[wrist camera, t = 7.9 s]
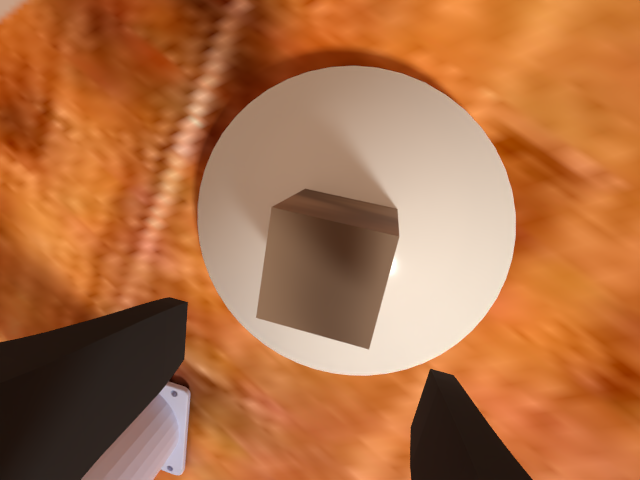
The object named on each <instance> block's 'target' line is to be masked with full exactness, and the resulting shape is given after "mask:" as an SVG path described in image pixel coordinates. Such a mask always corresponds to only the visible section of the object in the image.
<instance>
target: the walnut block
mask: <svg viewBox="0 0 640 480" xmlns="http://www.w3.org/2000/svg"><path fill="white" fill-rule="evenodd" d="M398 240H399V223H398V209H396V208H391V207H387V206H382V205H378V204H373V203H369V202H364V201H359V200H355V199H350V198H346V197H341V196H337V195H332V194H328V193H323V192H318V191H314V190H309V189H304V190H302V191H300V192H298V193H296V194H295V195H293V196H291V197H289V198H287V199H285V200H284V201H282V202H280V203H278V204H276V205H274V206H273V207H271V214H270V221H269V229H268V236H267V243H266V250H265V257H264V264H263V271H262V279H261V286H260V293H259V300H258V307H257V314H256V318H258V319H262V320H265V321H269V322H273V323H276V324H280V325H283V326H287V327H290V328H294V329H297V330H301V331H305V332H308V333H312V334H315V335H319V336H322V337H326V338H330V339H333V340H337V341H340V342H344V343H347V344H351V345H354V346H358V347H362V348H365V349H369V348H370V344H371V340H372V337H373V333H374V329H375V326H376V322H377V318H378V314H379V311H380V307H381V303H382V300H383V296H384V292H385V288H386V285H387V281H388V277H389V274H390V270H391V266H392V262H393V259H394V255H395V251H396V248H397V244H398Z"/></svg>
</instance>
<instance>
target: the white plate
mask: <svg viewBox="0 0 640 480" xmlns="http://www.w3.org/2000/svg"><path fill="white" fill-rule="evenodd" d="M304 189H309V190H314V191H318V192H323V193H328V194H332V195H337V196H341V197H346V198H350V199H355V200H359V201H364V202H369V203H373V204H378V205H382V206H387V207H391V208H396V209H398V223H399V240H398V244H397V248H396V251H395V255H394V259H393V262H392V266H391V270H390V274H389V277H388V281H387V285H386V288H385V292H384V296H383V300H382V303H381V307H380V311H379V314H378V318H377V322H376V326H375V329H374V333H373V337H372V340H371V344H370V348H369V349H365V348H362V347H358V346H354V345H351V344H347V343H344V342H340V341H337V340H333V339H330V338H326V337H322V336H319V335H315V334H312V333H308V332H305V331H301V330H297V329H294V328H290V327H287V326H283V325H280V324H276V323H273V322H269V321H265V320H262V319H258V318H256V314H257V307H258V300H259V293H260V286H261V279H262V271H263V264H264V257H265V250H266V243H267V236H268V229H269V221H270V214H271V207H273V206H274V205H276V204H278V203H280V202H282V201H284V200H285V199H287V198H289V197H291V196H293V195H295V194H296V193H298V192H300V191H302V190H304ZM198 233H199V241H200V246H201V250H202V255H203V259H204V262H205V265H206V268H207V270H208V273H209V276H210V278H211V280H212V282H213V284H214V286H215V288H216V290H217V292H218V294H219V295H220V297H221V299H222V300H223V302H224V303H225V305H226V306H227V308H228V309H229V310H230V312H231V313H232V314H233V315H234V316H235V318H236V319H237V320H238V321H239V322H240V323H241V324H242V325H243V326H244V327H245V328H246V329H247V330H248V331H249V332H250V333H251V334H252V335H253V336H254V337H256V338H257V339H258V340H260V341H261V342H262V343H263V344H265V345H266V346H268V347H269V348H271V349H272V350H274V351H276V352H277V353H279V354H280V355H282V356H284V357H286V358H288V359H291V360H293V361H295V362H297V363H299V364H302V365H305V366H308V367H311V368H313V369H317V370H321V371H326V372H330V373H336V374H344V375H378V374H387V373H392V372H396V371H401V370H405V369H408V368H411V367H414V366H417V365H419V364H422V363H425V362H427V361H429V360H431V359H433V358H435V357H437V356H439V355H441V354H442V353H444V352H445V351H447V350H448V349H450V348H451V347H453V346H454V345H456V344H457V343H458V342H460V341H461V340H462V339H463V338H464V337H465V336H466V335H468V334H469V333H470V332H471V331H472V330H473V329H474V328H475V327H476V326H477V324H478V323H479V322H480V321H481V320H482V319H483V318H484V316H485V315H486V314H487V312H488V311H489V309H490V308H491V306H492V305H493V303H494V302H495V300H496V299H497V297H498V295H499V293H500V290H501V288H502V286H503V284H504V282H505V280H506V277H507V274H508V271H509V267H510V264H511V261H512V257H513V250H514V244H515V237H516V213H515V207H514V200H513V193H512V189H511V186H510V182H509V179H508V176H507V173H506V169H505V167H504V165H503V163H502V161H501V159H500V157H499V155H498V153H497V151H496V148H495V147H494V145H493V144H492V142H491V141H490V139H489V138H488V137H487V135H486V134H485V132H484V131H483V129H482V128H481V127H480V126H479V125H478V123H477V122H476V121H475V120H474V119H473V118H472V117H471V116H470V115H469V114H468V113H467V112H466V110H464V109H463V108H462V107H461V106H459V105H458V104H457V103H456V102H454V101H453V100H452V99H451V98H449V97H448V96H447V95H446V94H444V93H442V92H440V91H439V90H437V89H435V88H434V87H432V86H430V85H428V84H427V83H425V82H422V81H420V80H417V79H415V78H412V77H410V76H407V75H405V74H402V73H399V72H394V71H390V70H386V69H382V68H376V67H365V66H339V67H328V68H324V69H319V70H314V71H309V72H306V73H303V74H300V75H298V76H295V77H292V78H289V79H287V80H285V81H283V82H281V83H279V84H277V85H275V86H274V87H272V88H270V89H268V90H266V91H265V92H264V93H262V94H261V95H260V96H258V97H257V98H256V99H254V100H253V101H251V102H250V103H249V104H248V105H247V106H246V107H245V108H244V109H243V110H242V111H241V112H240V113H239V114H238V115H237V116H236V117H235V118H234V119H233V120H232V122H231V123H230V124H229V126H228V127H227V128H226V129H225V131H224V132H223V133H222V135H221V137H220V139H219V140H218V142H217V144H216V145H215V147H214V149H213V151H212V153H211V155H210V158H209V160H208V163H207V165H206V168H205V171H204V175H203V178H202V182H201V186H200V192H199V200H198Z"/></svg>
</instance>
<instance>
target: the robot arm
mask: <svg viewBox="0 0 640 480" xmlns="http://www.w3.org/2000/svg"><path fill="white" fill-rule="evenodd" d="M187 306H188V302H185V301H181V300H177V299H174V298H170V297H169V298H164V299H160V300H156V301H152V302H149V303H145V304H142V305H138V306H135V307H132V308H129V309H125V310H122V311H119V312H116V313H112V314H109V315H106V316H102V317H99V318H96V319H92V320H89V321H85V322H82V323H78V324H74V325H71V326H67V327H63V328H60V329H56V330H52V331H49V332H45V333H41V334H37V335H33V336H28V337H24V338H19V339H15V340H10V341H5V342H0V480H153V479H154V478H155V476H156V475H157V473H158V472H159V471H160V470H163V471H166V472H169V473H171V474H174V475H181V474H182V473H183V471H184V469H185V459H186V446H187V433H188V419H189V406H190V391H189V389H188V388H187V387H185V386H181V385H178V384H175V383H172V382H169V380H170V379H171V377H172V376H173V375H174V373H175V372H176V370H177V369H178V367H179V366H180V365H181V363H182V362H183V360H184V355H185V338H186V322H187ZM175 391H176V392H175ZM410 469H411V480H532V478H531V477H530V476H529V475H528V474H527V472H526V471H525V470H524V469H523V468H522V466H521V465H520V464H519V463H518V461H517V460H516V459H515V458H514V456H513V455H512V454H511V453H510V451H509V450H508V449H507V448H506V446H505V445H504V444H503V442H502V441H501V440H500V438H499V437H498V436H497V434H496V433H495V432H494V430H493V429H492V428H491V426H490V425H489V424H488V422H487V421H486V420H485V418H484V417H483V415H482V414H481V413H480V411H479V410H478V408H477V407H476V406H475V404H474V403H473V401H472V400H471V399H470V397H469V396H468V394H467V393H466V392H465V390H464V389H463V387H462V386H461V385H460V383H459V382H458V381H457V379H456V378H455V377H454V375H451V374H447V373H444V372H440V371H436V370H433V369H430V371H429V374H428V377H427V380H426V383H425V386H424V389H423V392H422V395H421V398H420V401H419V404H418V407H417V410H416V413H415V416H414V419H413V422H412V425H411V443H410Z"/></svg>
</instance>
